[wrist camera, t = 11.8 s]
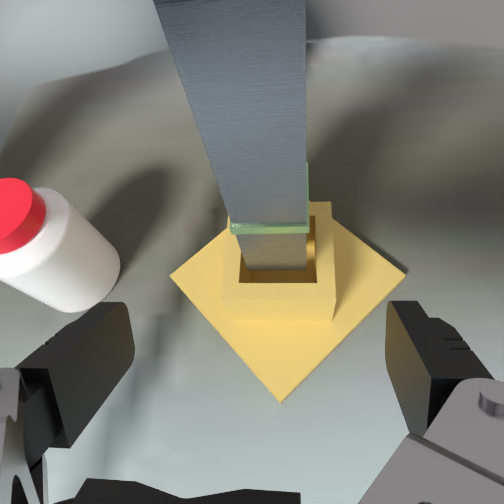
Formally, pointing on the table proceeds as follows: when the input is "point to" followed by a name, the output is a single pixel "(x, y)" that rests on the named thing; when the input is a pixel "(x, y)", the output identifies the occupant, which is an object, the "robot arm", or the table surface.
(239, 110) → the column
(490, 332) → the table surface
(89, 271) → the pill bottle
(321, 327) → the stand base
